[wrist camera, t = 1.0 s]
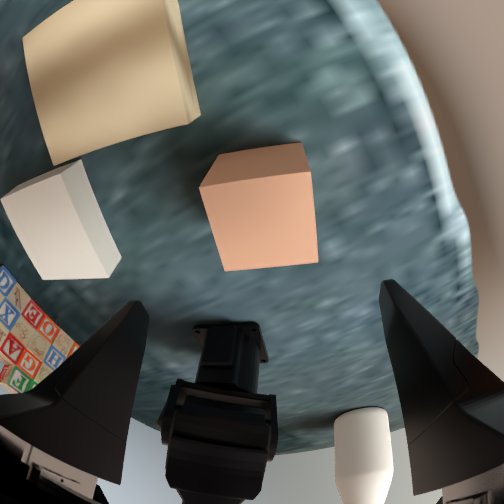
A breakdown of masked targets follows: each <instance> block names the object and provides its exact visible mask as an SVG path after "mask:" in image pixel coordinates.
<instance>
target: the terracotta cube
mask: <svg viewBox="0 0 504 504" xmlns="http://www.w3.org/2000/svg"><path fill="white" fill-rule="evenodd" d="M199 190H200V193H201V196H202V200H203V203H204V206H205V210H206V213H207V216H208V219H209V222H210V226H211V229H212V232H213V235H214V238H215V242H216V245H217V248H218V251H219V254H220V257H221V260H222V263H223V267H224V270H225V271H234V270H245V269H256V268H266V267H277V266H287V265H297V264H307V263H317V262H318V250H317V236H316V223H315V211H314V200H313V190H312V180H311V171H310V168H309V165H308V161H307V158H306V155H305V151H304V148H303V145H302V142H300V143H292V144H283V145H276V146H269V147H262V148H255V149H249V150H243V151H237V152H231V153H225V154H220V155H218V157H217V159H216V160H215V162H214V163H213V165H212V167H211V168H210V170H209V171H208V173H207V175H206V176H205V178H204V180H203V181H202V183H201V185H200V186H199Z"/></svg>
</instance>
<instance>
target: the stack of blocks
mask: <svg viewBox="0 0 504 504" xmlns="http://www.w3.org/2000/svg"><path fill="white" fill-rule="evenodd" d="M79 347H80V346H79V345H78V344H77V343H76V342H74V341H73V340H72V339H71V338H70V337H69V336H68V335H67V334H66V333H65V332H64V331H63V330H62V329H60V328H59V327H58V326H57V325H56V324H55V323H54V322H53V321H52V320H51V319H50V318H49V317H48V316H47V315H46V314H45V313H44V312H43V311H42V309H41V308H40V307H39V306H38V305H37V304H36V303H35V302H34V301H33V300H32V299H31V297H30V296H29V295H28V294H27V293H26V292H25V291H24V289H23V288H22V287H21V286H20V285H19V284H18V282H17V281H16V280H15V278H14V277H13V276H12V275H11V273H10V272H9V271H8V270H7V268H6V267H5V266H4V265H3V266H2V267H1V268H0V361H1V362H2V363H4V364H5V365H4V367H3V369H2V372H1V373H0V384H1V385H2V386H3V387H4V388H5V389H7V390H8V391H9V392H11V393H12V394H15V393H23V392H27V391H29V390H31V389H32V388H34V387H35V386H36V385H37V384H38V383H40V382H41V381H42V380H43V379H44V378H46V377H47V376H48V375H49V374H50V373H52V372H53V371H54V370H55V369H56V368H57V367H59V366H60V365H61V364H62V363H63V362H64V361H65V360H66V359H67V358H68V357H69V356H70V355H72V353H73V352H75V351H76V350H77V349H78V348H79Z"/></svg>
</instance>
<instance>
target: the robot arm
mask: <svg viewBox="0 0 504 504" xmlns="http://www.w3.org/2000/svg"><path fill="white" fill-rule="evenodd" d="M379 304H380V310H381V315H382V321H383V327H384V334H385V340H386V344H387V348H388V352H389V356H390V360H391V364H392V368H393V372H394V376H395V381H396V385H397V389H398V394H399V399H400V404H401V409H402V414H403V419H404V425H405V430H406V436H407V443H408V450H409V457H410V466H411V474H412V484H413V494H414V496H415V495H419V494H423V493H427V492H430V491H434V490H437V489H441V488H442V495H443V496H442V497H441V498H440V499H439V501H438V502H437V503H436V504H504V382H503V381H502V380H501V379H500V378H498V377H497V376H496V375H495V374H494V373H493V372H492V371H490V370H489V369H488V368H487V367H486V366H484V365H483V364H482V363H481V362H480V361H479V360H478V359H477V358H476V357H475V356H473V355H472V354H471V353H470V352H469V351H468V350H467V349H466V348H465V347H464V346H463V345H462V344H461V343H460V342H459V341H458V340H456V338H455V337H454V336H453V335H452V334H451V333H450V332H449V331H448V330H447V329H446V328H445V327H444V326H443V325H442V324H441V323H440V322H439V321H438V320H437V319H436V318H435V317H434V316H433V315H432V314H431V313H430V312H429V311H428V310H427V309H426V308H424V307H423V306H422V305H421V304H420V303H419V302H418V301H417V300H416V299H415V298H414V297H413V296H411V295H410V294H409V293H408V292H407V291H406V290H405V289H404V288H403V287H402V286H400V285H399V284H398V283H397V282H396V281H395V280H393V279H390V280H383V281H382V283H381V289H380V295H379ZM148 324H149V315H148V313H147V311H146V310H145V308H144V306H143V305H142V303H141V302H140V301H129V302H128V303H127V304H126V305H125V306H124V307H123V308H121V309H120V310H119V311H118V312H117V313H116V314H115V315H114V316H113V317H111V318H110V319H109V320H108V321H107V322H106V323H105V324H104V325H103V326H101V327H100V328H99V329H98V330H97V331H96V332H95V333H94V334H93V335H92V336H91V337H90V338H88V339H87V340H86V341H85V342H84V343H83V344H82V345H81V346H80V347H79V348H78V349H77V350H76V351H75V352H73V353H72V355H70V356H69V357H68V358H67V359H66V360H65V361H64V362H63V363H62V364H61V365H60V366H59V367H57V368H56V369H55V370H54V371H53V372H52V373H50V374H49V375H48V376H47V377H46V378H44V379H43V380H42V381H41V382H40V383H38V384H37V385H36V386H35V387H34V388H32V389H31V390H29V391H27V392H23V393H15V394H4V395H0V504H109V503H108V501H107V499H106V497H105V496H104V494H103V492H102V490H101V488H100V486H99V485H97V484H96V483H97V479H98V477H99V478H101V479H104V480H107V481H109V482H112V483H115V484H118V485H120V484H121V478H122V470H123V462H124V455H125V449H126V441H127V435H128V429H129V424H130V418H131V413H132V407H133V402H134V397H135V392H136V388H137V383H138V378H139V374H140V369H141V365H142V361H143V356H144V351H145V344H146V337H147V330H148ZM193 333H194V335H195V337H196V338H197V340H198V342H199V344H200V346H201V347H202V353H201V358H200V362H199V366H198V371H197V375H196V380H195V383H192V382H187V381H184V380H182V379H177V382H176V384H175V385H171V388H170V392H169V396H168V399H167V402H166V404H165V406H164V408H163V410H162V412H161V415H160V417H159V419H158V421H157V426H158V427H159V429H160V430H161V436H162V438H161V440H162V444H163V445H168V450H167V458H166V466H165V468H166V475H165V476H166V479H167V481H168V484H169V486H170V487H171V488H174V489H176V490H177V492H178V493H179V495H180V497H181V498H182V504H241V503H242V502H243V501H244V500H245V499H246V500H253V499H254V498H255V497H256V496H257V495H258V494H259V492H260V491H261V487H262V481H263V477H264V472H265V467H266V463H267V461H272V460H273V458H274V455H275V452H276V448H277V441H278V422H277V406H276V395H272V394H269V395H264V394H257V387H258V375H259V363H267V362H268V354H267V350H266V347H265V343H264V340H263V336H262V333H261V329H260V326H259V325H258V324H256V323H250V324H228V325H196V326H194V327H193Z"/></svg>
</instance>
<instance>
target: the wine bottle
mask: <svg viewBox="0 0 504 504" xmlns="http://www.w3.org/2000/svg"><path fill="white" fill-rule="evenodd" d="M334 443H335V482H336V485H337V488H338V491H339V493H340V496H341V498H342V500H343V503H344V504H384V502H385V498H386V496H387V493H388V489H389V486H390V483H391V480H392V475H393V457H392V447H391V438H390V430H389V422H388V415H387V412H386V411H385V410H384V409H382V408H379V407H367V408H361V409H356V410H352V411H349V412H346V413H344V414H342V415H340V416H339V417H338V418H337V419H336V420H335V422H334Z"/></svg>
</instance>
